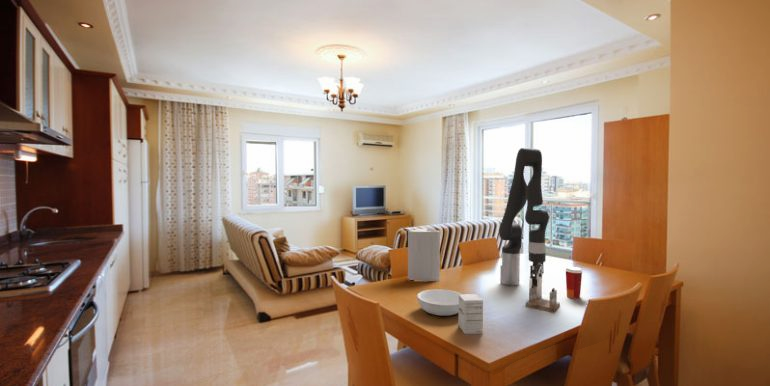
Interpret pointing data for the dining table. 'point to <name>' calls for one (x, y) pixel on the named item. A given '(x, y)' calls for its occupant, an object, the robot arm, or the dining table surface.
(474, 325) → the supplement box
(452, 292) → the serving bowl
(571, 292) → the paper cup
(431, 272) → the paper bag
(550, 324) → the dining table surface
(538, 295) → the roll
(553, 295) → the holder
